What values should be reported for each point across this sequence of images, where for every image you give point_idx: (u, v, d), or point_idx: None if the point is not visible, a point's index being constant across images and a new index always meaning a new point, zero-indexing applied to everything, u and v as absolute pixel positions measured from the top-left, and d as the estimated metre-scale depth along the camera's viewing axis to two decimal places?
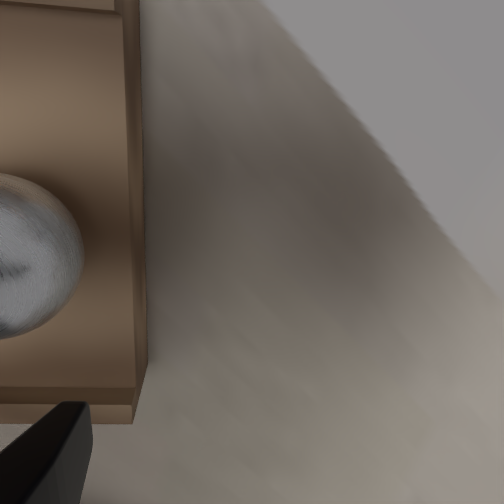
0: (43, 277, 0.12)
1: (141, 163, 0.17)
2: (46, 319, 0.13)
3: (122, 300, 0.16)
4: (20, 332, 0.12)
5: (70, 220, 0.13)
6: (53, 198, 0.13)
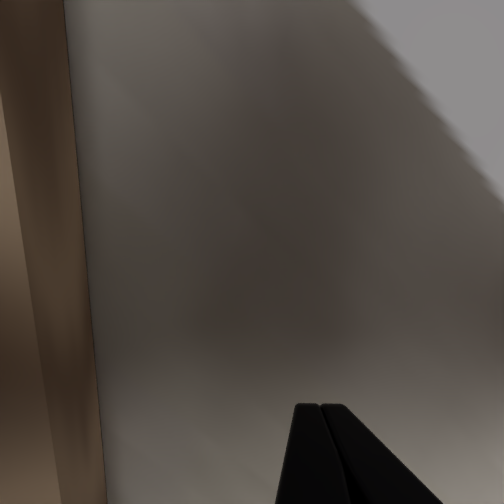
0: None
1: (77, 226, 0.10)
2: None
3: (39, 481, 0.09)
4: None
5: None
6: None
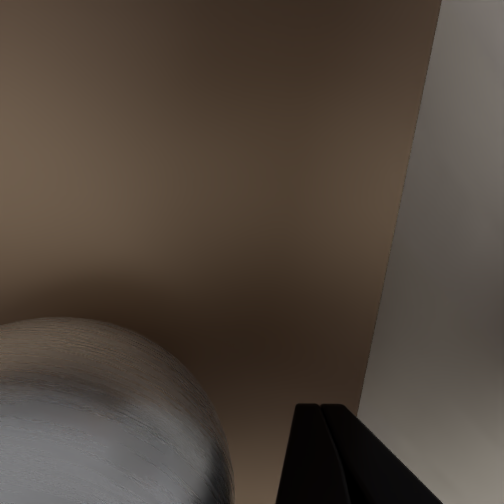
0: None
1: None
2: None
3: None
4: None
5: (216, 428, 0.06)
6: (180, 380, 0.06)
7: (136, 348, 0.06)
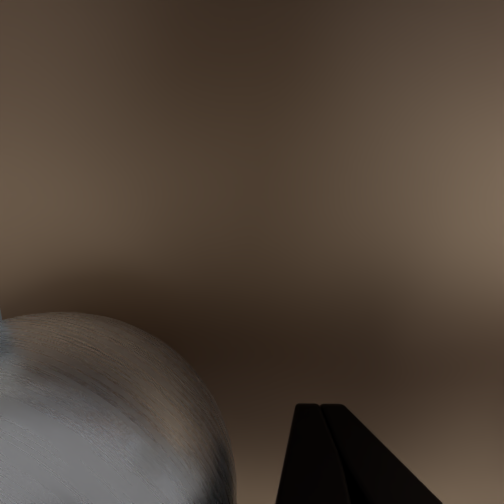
0: None
1: None
2: None
3: None
4: None
5: (215, 464, 0.05)
6: (182, 403, 0.05)
7: (144, 360, 0.05)
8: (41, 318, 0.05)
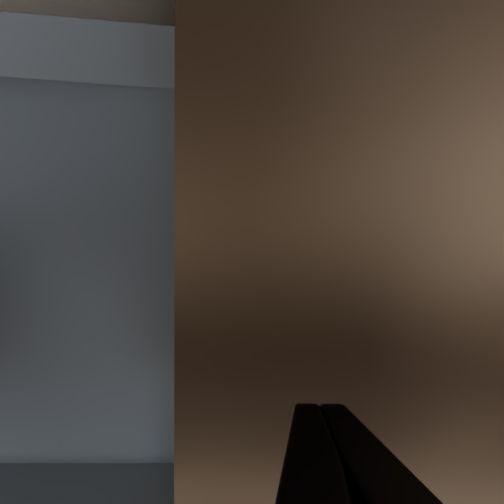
0: None
1: None
2: None
3: None
4: None
5: None
6: None
7: None
8: None
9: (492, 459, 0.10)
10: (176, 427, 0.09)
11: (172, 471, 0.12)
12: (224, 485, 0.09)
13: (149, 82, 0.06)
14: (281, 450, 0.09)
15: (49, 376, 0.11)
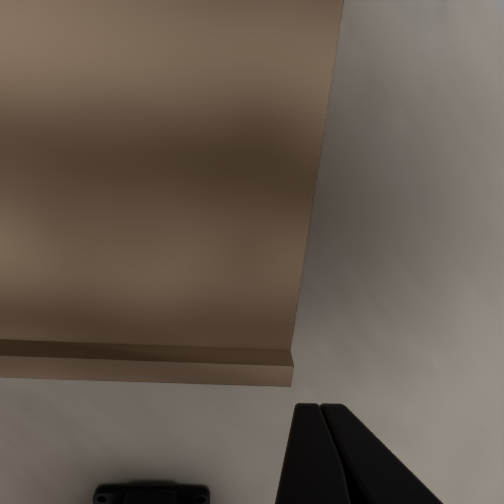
0: None
1: None
2: None
3: (294, 256, 0.16)
4: None
5: None
6: None
7: None
8: None
9: (112, 227, 0.15)
10: None
11: None
12: None
13: None
14: None
15: None
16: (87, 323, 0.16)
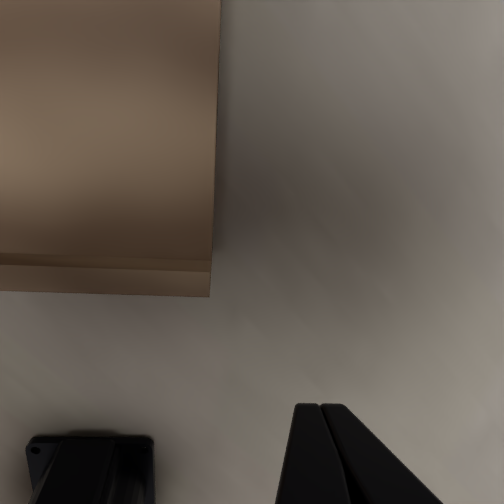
0: None
1: None
2: None
3: (203, 145, 0.14)
4: None
5: None
6: None
7: None
8: None
9: None
10: None
11: None
12: None
13: None
14: None
15: None
16: None
